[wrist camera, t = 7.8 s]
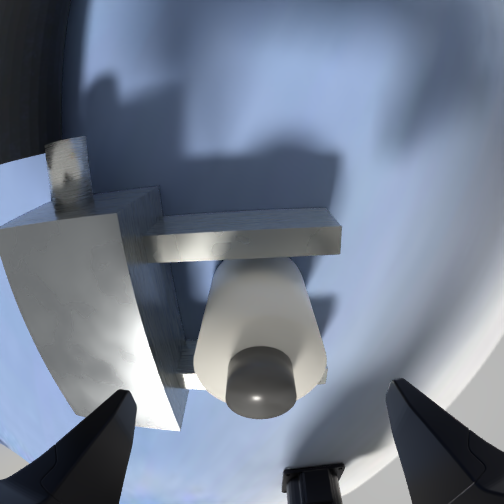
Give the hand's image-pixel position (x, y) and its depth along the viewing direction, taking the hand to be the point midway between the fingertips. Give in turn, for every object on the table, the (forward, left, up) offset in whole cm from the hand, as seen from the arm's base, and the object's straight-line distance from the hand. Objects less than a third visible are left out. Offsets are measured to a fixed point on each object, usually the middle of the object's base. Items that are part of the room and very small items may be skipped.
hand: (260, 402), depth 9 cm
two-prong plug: (+1, +4, -8) cm, 9 cm away
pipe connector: (+16, +14, -8) cm, 23 cm away
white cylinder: (0, 0, -8) cm, 8 cm away
